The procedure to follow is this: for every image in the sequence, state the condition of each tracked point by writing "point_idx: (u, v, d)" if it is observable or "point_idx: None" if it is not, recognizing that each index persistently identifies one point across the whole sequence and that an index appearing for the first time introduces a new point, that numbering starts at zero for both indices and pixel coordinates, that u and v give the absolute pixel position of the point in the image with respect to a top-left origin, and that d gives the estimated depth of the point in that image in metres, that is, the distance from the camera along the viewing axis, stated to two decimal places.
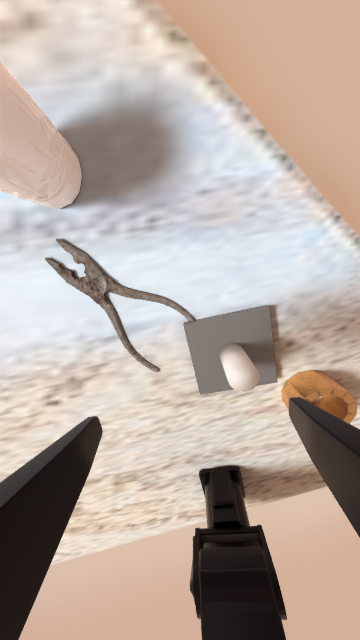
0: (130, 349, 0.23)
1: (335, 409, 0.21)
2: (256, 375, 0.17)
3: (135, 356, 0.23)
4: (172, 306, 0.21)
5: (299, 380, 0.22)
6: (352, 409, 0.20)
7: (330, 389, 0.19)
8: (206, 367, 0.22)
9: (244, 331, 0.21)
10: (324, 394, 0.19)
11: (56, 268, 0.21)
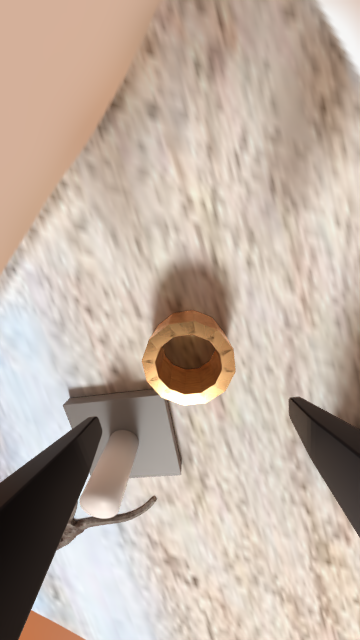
0: (128, 518, 0.22)
1: None
2: (94, 493, 0.13)
3: (136, 515, 0.22)
4: None
5: None
6: (183, 328, 0.12)
7: (148, 361, 0.12)
8: (142, 465, 0.18)
9: None
10: (153, 371, 0.12)
11: None
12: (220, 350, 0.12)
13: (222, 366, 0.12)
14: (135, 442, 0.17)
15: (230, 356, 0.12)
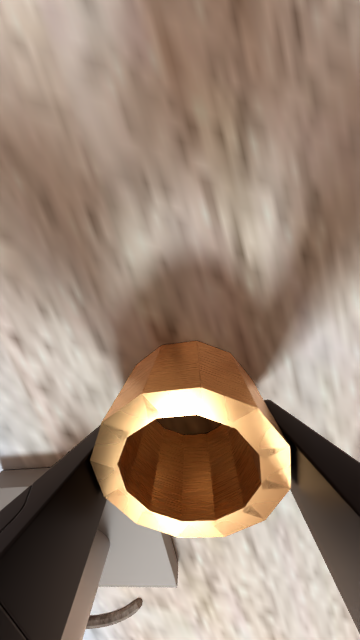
0: (103, 624, 0.15)
1: None
2: None
3: (114, 622, 0.15)
4: None
5: None
6: (177, 402, 0.05)
7: (104, 459, 0.06)
8: (117, 573, 0.12)
9: None
10: (116, 480, 0.06)
11: None
12: (259, 445, 0.05)
13: (262, 476, 0.06)
14: (102, 549, 0.10)
15: (282, 460, 0.05)
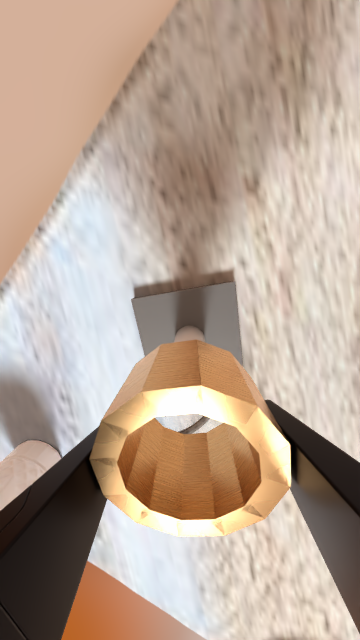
0: None
1: None
2: None
3: (190, 432, 0.22)
4: None
5: None
6: (177, 400, 0.05)
7: (104, 458, 0.06)
8: None
9: (160, 325, 0.17)
10: (116, 478, 0.06)
11: None
12: (259, 444, 0.05)
13: (262, 474, 0.06)
14: (203, 336, 0.17)
15: (282, 458, 0.05)
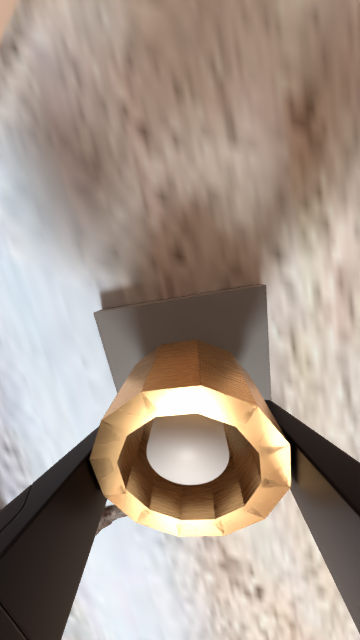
0: None
1: None
2: (180, 428, 0.06)
3: None
4: None
5: None
6: (177, 400, 0.05)
7: (104, 458, 0.06)
8: None
9: (142, 354, 0.11)
10: (116, 478, 0.06)
11: None
12: (259, 444, 0.05)
13: (262, 474, 0.06)
14: None
15: (282, 458, 0.05)
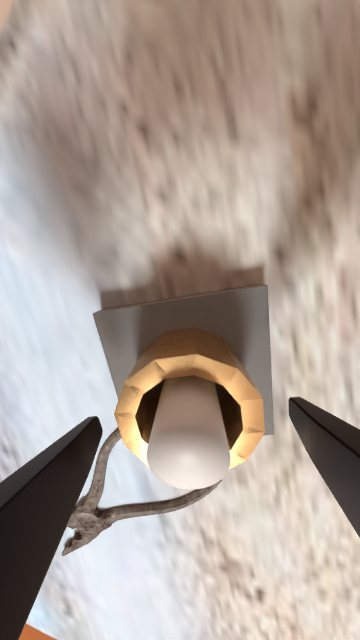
0: (178, 506, 0.15)
1: None
2: (180, 432, 0.06)
3: (190, 502, 0.15)
4: (110, 447, 0.14)
5: None
6: (180, 366, 0.07)
7: (125, 414, 0.08)
8: None
9: None
10: (134, 429, 0.08)
11: (71, 549, 0.18)
12: (240, 399, 0.07)
13: (243, 423, 0.08)
14: None
15: (257, 409, 0.07)
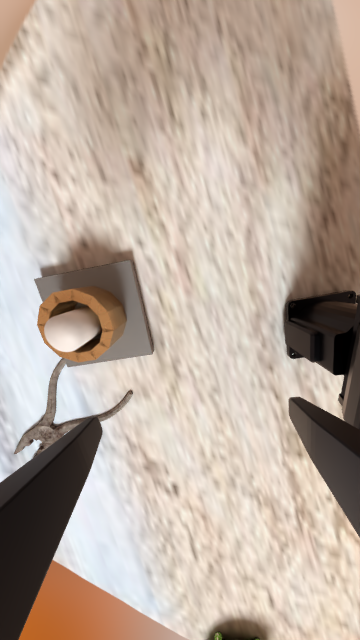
0: (106, 416, 0.22)
1: None
2: (57, 319, 0.13)
3: (113, 412, 0.22)
4: (56, 373, 0.21)
5: None
6: (65, 295, 0.14)
7: (43, 325, 0.15)
8: (114, 346, 0.19)
9: None
10: None
11: None
12: (98, 313, 0.15)
13: (102, 327, 0.15)
14: None
15: (106, 318, 0.15)
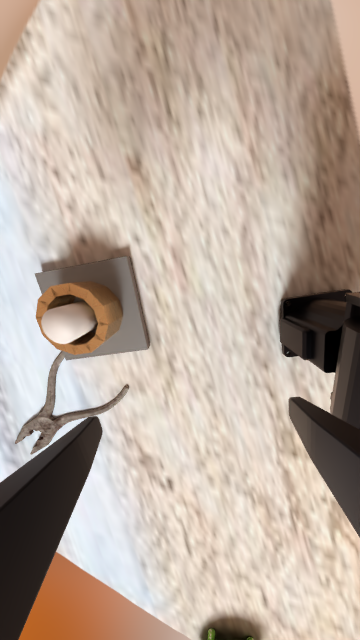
0: (103, 409, 0.23)
1: None
2: (53, 312, 0.14)
3: (110, 405, 0.23)
4: (55, 366, 0.22)
5: None
6: (62, 289, 0.15)
7: None
8: (111, 340, 0.19)
9: None
10: None
11: (37, 448, 0.25)
12: (94, 307, 0.15)
13: (98, 320, 0.15)
14: None
15: (102, 312, 0.15)
